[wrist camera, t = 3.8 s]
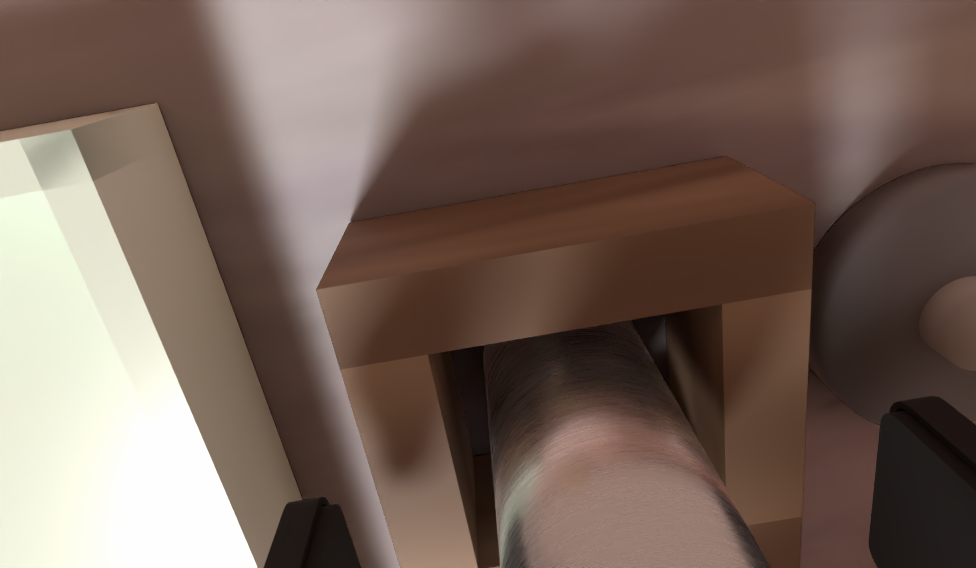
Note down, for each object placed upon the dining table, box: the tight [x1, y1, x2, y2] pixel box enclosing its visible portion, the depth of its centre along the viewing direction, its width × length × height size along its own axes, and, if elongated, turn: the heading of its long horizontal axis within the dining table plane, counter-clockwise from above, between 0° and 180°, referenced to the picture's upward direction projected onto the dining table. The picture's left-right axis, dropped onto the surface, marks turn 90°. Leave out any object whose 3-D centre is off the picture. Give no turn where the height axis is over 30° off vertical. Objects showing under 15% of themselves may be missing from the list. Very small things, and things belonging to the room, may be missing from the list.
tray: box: [0, 103, 302, 568], centre depth 14 cm, size 17×10×3 cm, turn 9°
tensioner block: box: [316, 156, 976, 568], centre depth 13 cm, size 8×16×4 cm, turn 99°
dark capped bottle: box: [483, 320, 771, 568], centre depth 11 cm, size 4×4×9 cm
